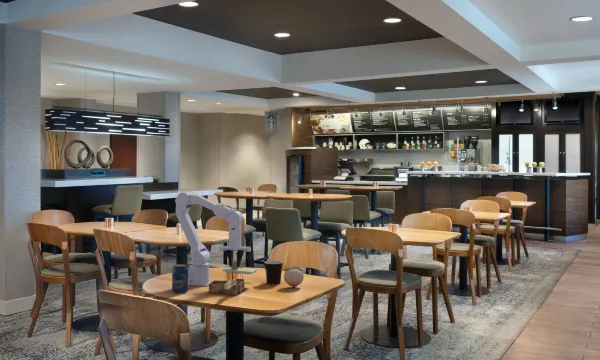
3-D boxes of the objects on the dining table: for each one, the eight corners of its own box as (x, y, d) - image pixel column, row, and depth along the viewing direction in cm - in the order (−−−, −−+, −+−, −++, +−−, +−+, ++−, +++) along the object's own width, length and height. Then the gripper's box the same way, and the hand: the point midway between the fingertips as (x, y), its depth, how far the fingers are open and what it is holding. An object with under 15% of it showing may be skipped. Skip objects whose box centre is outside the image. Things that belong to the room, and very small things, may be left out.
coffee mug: (280, 285, 267) (280, 264, 267) (262, 284, 269) (262, 263, 268) (286, 280, 278) (286, 260, 278) (268, 279, 280) (268, 259, 280)
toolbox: (207, 294, 249) (207, 283, 249) (215, 288, 262) (215, 277, 262) (238, 295, 247) (238, 285, 247) (245, 289, 260) (245, 278, 260)
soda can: (172, 294, 249) (171, 266, 249) (172, 290, 256) (172, 263, 256) (188, 293, 251) (188, 266, 250) (188, 290, 258) (188, 263, 257)
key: (222, 289, 237) (222, 284, 237) (229, 283, 247) (229, 279, 247) (229, 289, 237) (229, 284, 237) (235, 284, 247) (235, 279, 247)
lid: (222, 272, 262) (223, 261, 262) (227, 270, 270) (228, 259, 270) (252, 275, 260) (253, 264, 260) (256, 272, 268) (257, 262, 268)
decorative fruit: (285, 289, 258) (285, 267, 258) (282, 286, 266) (282, 264, 266) (305, 289, 260) (305, 267, 259) (302, 285, 268) (302, 263, 267)
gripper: (217, 238, 263) (217, 267, 263) (248, 238, 260) (248, 268, 261) (221, 236, 270) (221, 265, 270) (251, 236, 267) (251, 265, 268)
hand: (235, 266), depth 266 cm, fingers closed on lid, 2 cm apart
